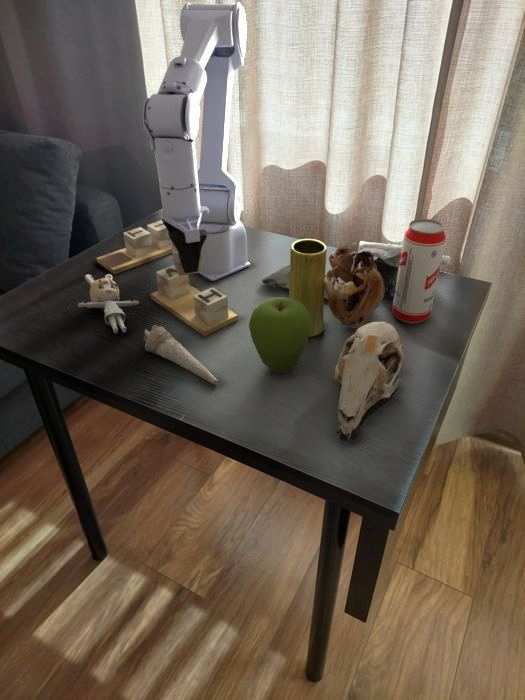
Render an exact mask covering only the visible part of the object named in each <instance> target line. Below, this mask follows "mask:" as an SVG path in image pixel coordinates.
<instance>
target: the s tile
mask: <svg viewBox="0 0 525 700" xmlns="http://www.w3.org/2000/svg"><path fill="white" fill-rule="evenodd" d="M172 251H173V253H172V257H173V258H172V259H173V265H175V268H176V270H177V272H178V275H179V276H182V275H188V276H189V275H192V274H199V273H200V272H203V264H202V254H201V253H200V261H199V267H198V271H197V272H192V273H185V272H184V269H183V267H182V264H181V260H180V257H179V253H178V251H177V248H176V247H175V245H174V244H173V243H172Z"/></svg>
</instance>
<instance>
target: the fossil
mask: <svg viewBox="0 0 525 700" xmlns="http://www.w3.org/2000/svg"><path fill="white" fill-rule="evenodd" d="M326 276H327V273H325V279H326ZM261 282H262V284H264V285H267V286H269V287H270V288H274V287H276V288H284V289H288V290H289V284H290V264H288V265H285V266H283V267H280V268H279V269H277V270H275V271H273V272H271V273H270V274H267V275H266V276H264V277H263V278H262V279H261ZM347 298H348V297H344V299H346V300H348V299H347ZM324 299H325V300H328V295H327V293H326V291H325V286H324Z"/></svg>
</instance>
